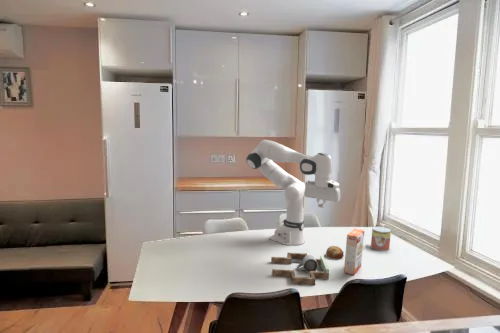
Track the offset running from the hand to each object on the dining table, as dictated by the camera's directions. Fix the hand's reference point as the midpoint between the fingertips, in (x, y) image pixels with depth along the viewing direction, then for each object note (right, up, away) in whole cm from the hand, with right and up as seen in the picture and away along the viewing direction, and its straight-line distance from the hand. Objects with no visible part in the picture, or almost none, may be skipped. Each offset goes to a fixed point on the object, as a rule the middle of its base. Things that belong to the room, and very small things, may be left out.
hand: (321, 207), depth 197 cm
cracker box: (+16, -33, -6) cm, 37 cm away
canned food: (+44, -29, +30) cm, 61 cm away
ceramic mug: (-9, -33, -9) cm, 35 cm away
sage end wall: (0, -33, -10) cm, 34 cm away
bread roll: (+10, -31, +12) cm, 35 cm away
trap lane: (-13, -32, -10) cm, 36 cm away
